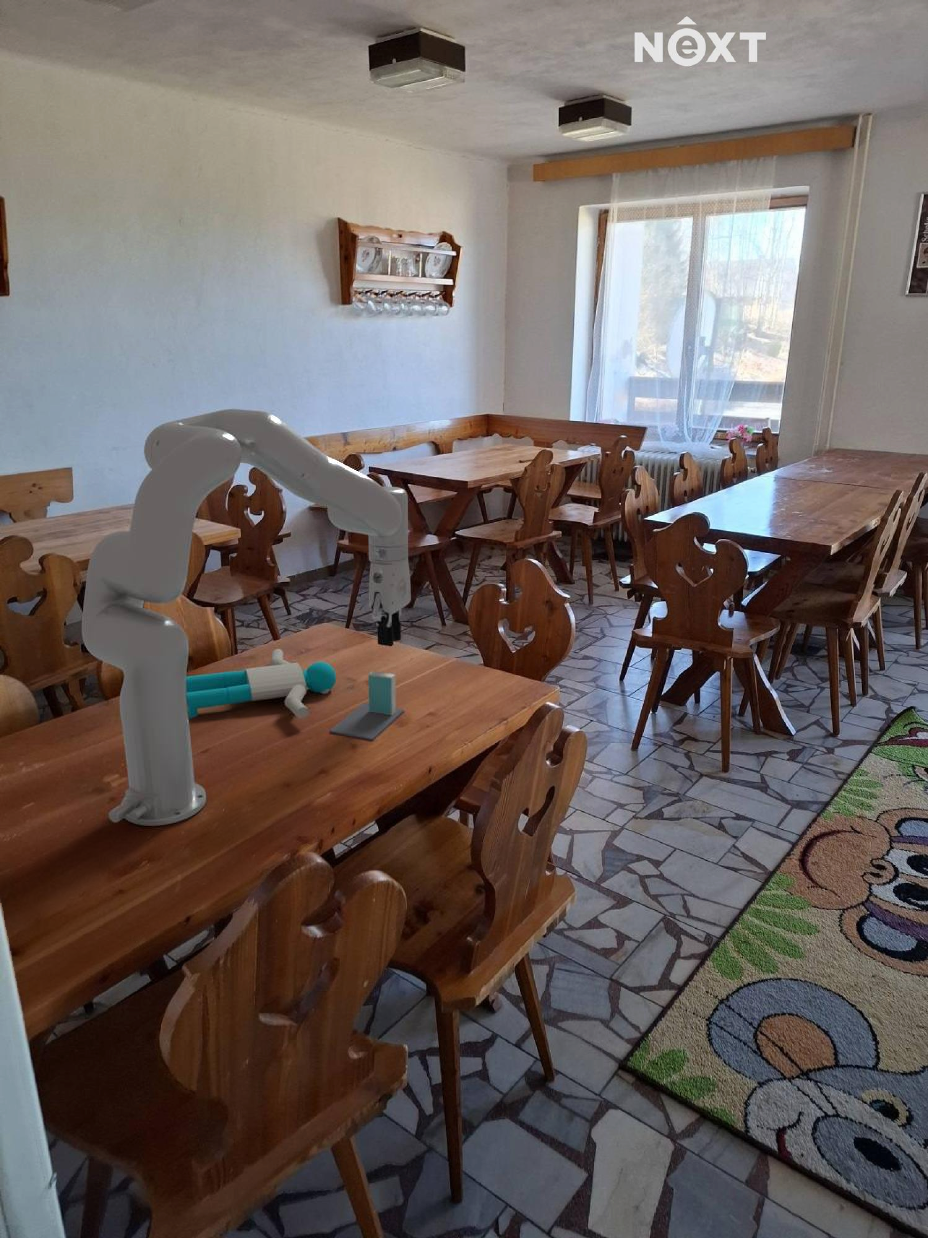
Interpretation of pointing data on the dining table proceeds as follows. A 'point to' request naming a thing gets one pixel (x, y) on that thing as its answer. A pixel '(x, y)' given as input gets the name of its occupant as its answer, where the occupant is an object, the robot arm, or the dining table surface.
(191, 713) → the toy
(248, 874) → the dining table surface
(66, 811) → the dining table surface
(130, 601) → the robot arm
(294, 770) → the dining table surface
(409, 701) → the dining table surface
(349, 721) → the mat
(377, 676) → the slab
